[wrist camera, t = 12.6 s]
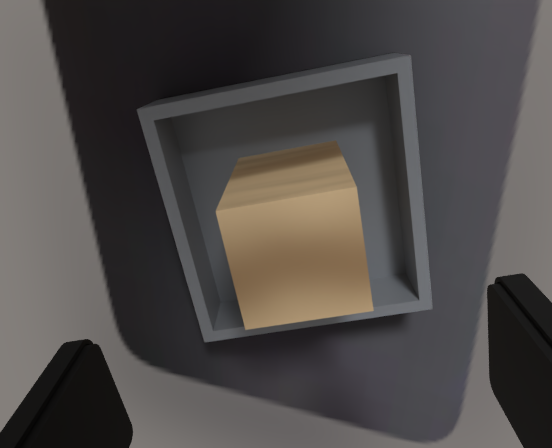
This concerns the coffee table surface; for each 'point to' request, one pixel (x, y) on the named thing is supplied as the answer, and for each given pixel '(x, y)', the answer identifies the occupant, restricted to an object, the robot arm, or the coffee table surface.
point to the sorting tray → (286, 135)
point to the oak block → (295, 237)
